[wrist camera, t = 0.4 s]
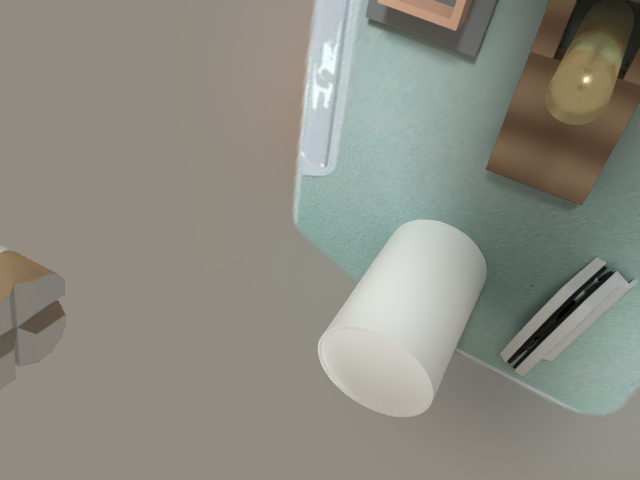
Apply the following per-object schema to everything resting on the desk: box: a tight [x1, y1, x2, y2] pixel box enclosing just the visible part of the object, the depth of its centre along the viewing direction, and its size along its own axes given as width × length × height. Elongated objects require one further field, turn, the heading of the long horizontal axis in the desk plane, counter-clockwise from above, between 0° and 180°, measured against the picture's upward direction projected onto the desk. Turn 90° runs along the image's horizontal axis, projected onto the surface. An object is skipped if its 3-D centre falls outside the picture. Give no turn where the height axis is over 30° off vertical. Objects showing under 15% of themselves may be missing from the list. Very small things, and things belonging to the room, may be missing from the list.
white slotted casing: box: [500, 258, 638, 377], centre depth 64 cm, size 17×5×10 cm, turn 164°
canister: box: [318, 220, 487, 417], centre depth 66 cm, size 14×14×20 cm
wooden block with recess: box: [486, 0, 640, 205], centre depth 51 cm, size 21×10×3 cm, turn 173°
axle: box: [545, 0, 634, 125], centre depth 43 cm, size 4×4×16 cm
